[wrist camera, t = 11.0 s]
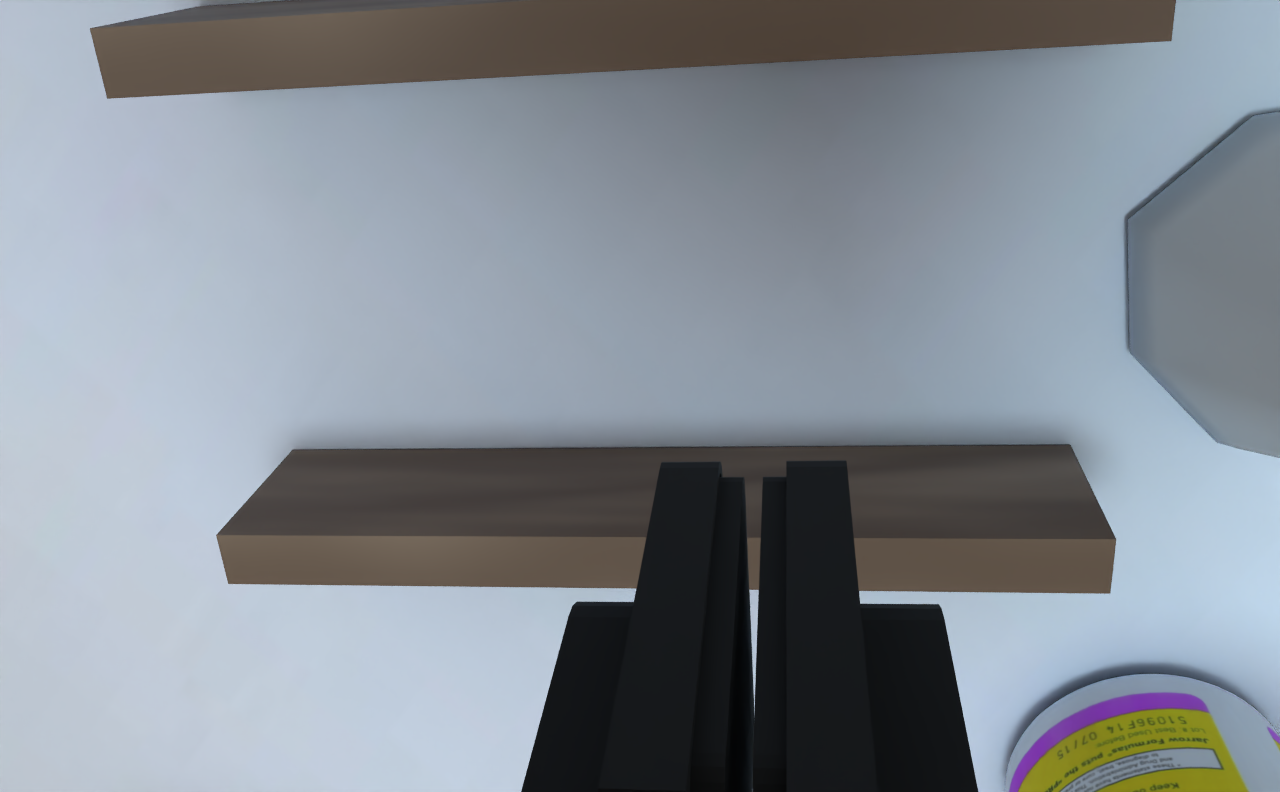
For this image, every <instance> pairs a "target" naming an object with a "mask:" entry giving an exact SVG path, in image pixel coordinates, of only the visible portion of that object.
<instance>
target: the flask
mask: <svg viewBox="0 0 1280 792" xmlns="http://www.w3.org/2000/svg"><path fill="white" fill-rule="evenodd" d="M1128 275H1129V334H1130V353H1131V354H1132V355H1133V356H1134V358H1135V359H1136V360H1137V361H1138V362H1139V363H1140V364H1141V365H1142V366H1143V367H1144V368H1145V369H1146V370H1147V371H1148V372H1149V373H1150V374H1151V375H1152V376H1153V377H1154V378H1155V379H1156V380H1157V381H1158V382H1159V383H1160V384H1161V385H1162V386H1163V387H1164V388H1165V390H1166V391H1167V392H1168V393H1169V394H1170V395H1171V396H1172V397H1173V398H1174V399H1175V400H1176V401H1177V402H1178V403H1179V404H1180V405H1181V406H1182V407H1183V408H1184V409H1185V410H1186V411H1187V412H1188V413H1189V414H1190V415H1191V416H1192V417H1193V418H1194V419H1195V420H1196V422H1197V423H1198V424H1199V425H1200V426H1201V427H1202V428H1203V429H1204V430H1205V431H1206V432H1207V433H1208V434H1209V435H1210V436H1211V437H1212V438H1213V439H1214V440H1215V441H1216V442H1218V443H1221V444H1225V445H1228V446H1232V447H1235V448H1239V449H1243V450H1247V451H1252V452H1256V453H1261V454H1265V455H1270V456H1274V457H1279V458H1280V112H1273V113H1266V114H1260V115H1253V116H1252V117H1251V118H1250V119H1249V120H1247V121H1246V122H1245V123H1244V124H1243V125H1241V126H1240V127H1239V128H1238V129H1236V130H1235V131H1234V132H1233V133H1232V134H1230V135H1229V136H1228V137H1227V138H1226V139H1224V140H1223V141H1222V142H1221V143H1220V144H1218V145H1217V146H1216V147H1215V148H1214V149H1212V150H1211V151H1210V152H1209V153H1208V154H1206V155H1205V156H1204V157H1203V158H1202V159H1200V160H1199V161H1198V162H1197V163H1196V164H1194V165H1193V166H1192V167H1191V168H1190V169H1188V170H1187V171H1186V172H1185V173H1183V174H1182V175H1181V176H1180V177H1179V178H1177V179H1176V180H1175V181H1174V182H1173V183H1171V184H1170V185H1169V186H1168V187H1167V188H1165V189H1164V190H1163V191H1162V192H1161V193H1159V194H1158V195H1157V196H1156V197H1155V198H1153V199H1152V200H1151V201H1150V202H1149V203H1147V204H1146V205H1145V206H1144V207H1143V208H1141V209H1140V210H1139V211H1138V212H1137V213H1135V214H1134V215H1133V216H1132V217H1130V218H1129V219H1128Z"/></svg>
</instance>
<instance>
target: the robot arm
mask: <svg viewBox="0 0 1280 792" xmlns="http://www.w3.org/2000/svg"><path fill="white" fill-rule="evenodd" d="M521 792H978V788H977V783H976V778H975V773H974V768H973V763H972V758H971V753H970V747H969V742H968V737H967V732H966V727H965V722H964V717H963V712H962V707H961V702H960V697H959V691H958V686H957V681H956V676H955V671H954V666H953V661H952V656H951V651H950V646H949V641H948V635H947V630H946V625H945V620H944V616H943V612H942V609H941V607H940V606H939V604H860V598H859V588H858V577H857V566H856V556H855V545H854V534H853V524H852V513H851V502H850V491H849V481H848V470H847V461H846V460H820V461H786V476H785V477H763V485H762V514H761V543H760V572H759V601H758V629H757V658H756V687H755V716H754V693H753V668H752V644H751V619H750V594H749V570H748V545H747V521H746V496H745V480H744V477H723V474H722V465H721V461H711V462H662V463H661V465H660V469H659V475H658V480H657V485H656V490H655V495H654V501H653V506H652V511H651V516H650V521H649V527H648V532H647V537H646V542H645V547H644V553H643V558H642V563H641V568H640V573H639V579H638V584H637V589H636V594H635V599H634V602H576V603H575V604H574V605H573V606H572V609H571V612H570V614H569V617H568V621H567V624H566V628H565V632H564V635H563V639H562V643H561V647H560V650H559V654H558V658H557V661H556V665H555V669H554V672H553V676H552V680H551V684H550V687H549V691H548V695H547V698H546V702H545V706H544V710H543V713H542V717H541V721H540V724H539V728H538V732H537V735H536V739H535V743H534V747H533V750H532V754H531V758H530V761H529V765H528V769H527V772H526V776H525V780H524V784H523V787H522V791H521Z"/></svg>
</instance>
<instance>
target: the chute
mask: <svg viewBox="0 0 1280 792" xmlns="http://www.w3.org/2000/svg"><path fill="white" fill-rule="evenodd" d="M1175 3H1176V0H290V1H275V2H260V3H245V4H229V5H214V6H199V7H194V8H189V9H184V10H179V11H174V12H169V13H164V14H159V15H154V16H149V17H144V18H139V19H134V20H129V21H124V22H119V23H114V24H110V25H105V26H100V27H95V28H90V31H91V35H92V39H93V43H94V47H95V51H96V55H97V59H98V63H99V67H100V71H101V75H102V79H103V83H104V87H105V91H106V95H107V98H126V97H144V96H163V95H181V94H200V93H218V92H237V91H255V90H274V89H292V88H311V87H329V86H348V85H366V84H385V83H403V82H422V81H440V80H459V79H477V78H496V77H514V76H533V75H551V74H570V73H588V72H606V71H625V70H643V69H662V68H680V67H699V66H717V65H736V64H754V63H773V62H791V61H810V60H828V59H847V58H865V57H884V56H902V55H921V54H939V53H958V52H976V51H995V50H1013V49H1032V48H1050V47H1069V46H1087V45H1106V44H1124V43H1143V42H1161V41H1171V39H1172V30H1173V21H1174V12H1175ZM820 460H846V461H847V470H848V481H849V491H850V502H851V513H852V524H853V534H854V545H855V556H856V566H857V577H858V588H859V591H928V592H1019V593H1110V590H1111V581H1112V572H1113V563H1114V554H1115V545H1116V538H1115V536H1114V534H1113V532H1112V530H1111V528H1110V526H1109V524H1108V522H1107V519H1106V517H1105V515H1104V513H1103V511H1102V509H1101V507H1100V505H1099V503H1098V501H1097V499H1096V497H1095V495H1094V493H1093V491H1092V489H1091V487H1090V484H1089V482H1088V480H1087V478H1086V476H1085V474H1084V472H1083V470H1082V468H1081V466H1080V464H1079V462H1078V460H1077V458H1076V456H1075V454H1074V452H1073V449H1072V447H1071V445H990V446H841V447H691V448H541V449H392V450H292V451H291V452H290V453H289V455H288V456H287V457H286V458H285V459H284V460H283V461H282V462H281V464H280V465H279V466H278V467H277V468H276V469H275V470H274V471H273V472H272V474H271V475H270V476H269V477H268V478H267V479H266V480H265V481H264V483H263V484H262V485H261V486H260V487H259V488H258V489H257V490H256V491H255V493H254V494H253V495H252V496H251V497H250V498H249V499H248V500H247V501H246V503H245V504H244V505H243V506H242V507H241V508H240V509H239V510H238V512H237V513H236V514H235V515H234V516H233V517H232V518H231V519H230V520H229V522H228V523H227V524H226V525H225V526H224V527H223V528H222V529H221V531H220V532H219V533H218V534H217V535H216V536H217V540H218V544H219V548H220V552H221V556H222V560H223V564H224V568H225V572H226V576H227V580H228V584H288V585H379V586H471V587H562V588H637V584H638V579H639V573H640V568H641V563H642V558H643V553H644V547H645V542H646V537H647V532H648V527H649V521H650V516H651V511H652V506H653V501H654V495H655V490H656V485H657V480H658V475H659V469H660V465H661V463H662V462H711V461H721V465H722V474H723V477H744V480H745V496H746V521H747V545H748V570H749V590H759V572H760V543H761V514H762V485H763V477H785V476H786V461H820Z"/></svg>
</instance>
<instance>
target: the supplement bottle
mask: <svg viewBox="0 0 1280 792" xmlns="http://www.w3.org/2000/svg"><path fill="white" fill-rule="evenodd" d="M1005 792H1280V736H1279V735H1278V733H1277V732H1276V730H1275V729H1274V728H1273V727H1272V725H1271V724H1270V723H1269V722H1268V721H1267V720H1266V719H1265V718H1264V717H1263V716H1262V715H1261V714H1260V713H1259V712H1258V711H1257V710H1256V709H1255V708H1253V707H1252V706H1251V705H1250V704H1248V703H1247V702H1245V701H1244V700H1243V699H1241V698H1239V697H1238V696H1236V695H1234V694H1233V693H1230V692H1228V691H1226V690H1224V689H1222V688H1220V687H1218V686H1215V685H1212V684H1209V683H1206V682H1203V681H1200V680H1196V679H1192V678H1188V677H1182V676H1177V675H1168V674H1135V675H1127V676H1120V677H1115V678H1111V679H1106V680H1102V681H1099V682H1096V683H1093V684H1091V685H1088V686H1085V687H1083V688H1080V689H1078V690H1076V691H1074V692H1072V693H1070V694H1068V695H1066V696H1065V697H1063V698H1061V699H1060V700H1058V701H1057V702H1055V703H1054V704H1052V705H1051V706H1049V707H1048V708H1047V709H1045V710H1044V711H1043V712H1042V713H1041V714H1040V715H1038V716H1037V717H1036V718H1035V719H1034V720H1033V722H1032V723H1031V724H1030V725H1029V727H1028V728H1027V729H1026V730H1025V732H1024V733H1023V735H1022V736H1021V738H1020V740H1019V741H1018V743H1017V745H1016V746H1015V748H1014V751H1013V753H1012V755H1011V757H1010V761H1009V764H1008V768H1007V773H1006V779H1005Z"/></svg>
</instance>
